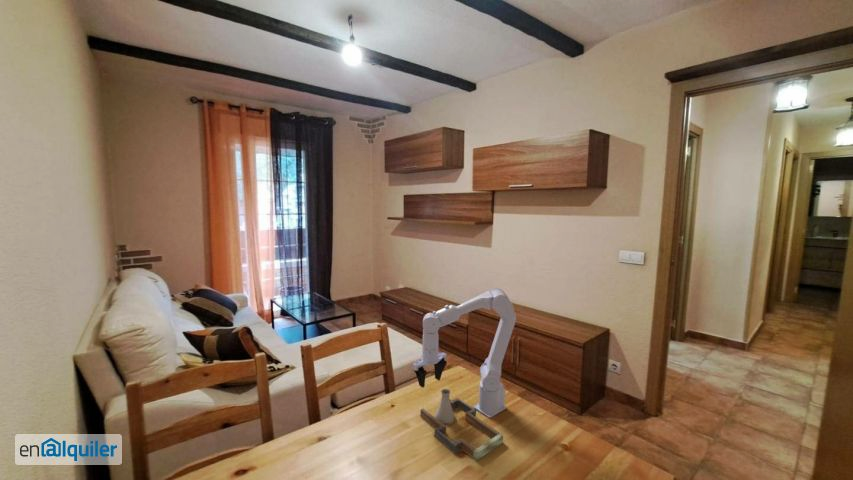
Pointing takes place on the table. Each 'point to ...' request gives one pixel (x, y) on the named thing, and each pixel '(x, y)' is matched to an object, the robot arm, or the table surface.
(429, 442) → the table surface
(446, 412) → the flask
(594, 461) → the table surface
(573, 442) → the table surface
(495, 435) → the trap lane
